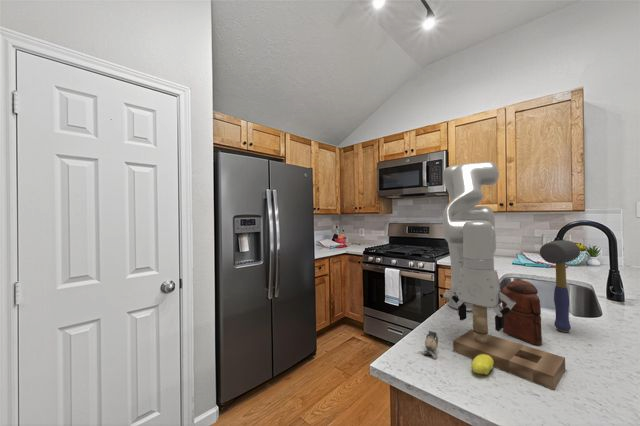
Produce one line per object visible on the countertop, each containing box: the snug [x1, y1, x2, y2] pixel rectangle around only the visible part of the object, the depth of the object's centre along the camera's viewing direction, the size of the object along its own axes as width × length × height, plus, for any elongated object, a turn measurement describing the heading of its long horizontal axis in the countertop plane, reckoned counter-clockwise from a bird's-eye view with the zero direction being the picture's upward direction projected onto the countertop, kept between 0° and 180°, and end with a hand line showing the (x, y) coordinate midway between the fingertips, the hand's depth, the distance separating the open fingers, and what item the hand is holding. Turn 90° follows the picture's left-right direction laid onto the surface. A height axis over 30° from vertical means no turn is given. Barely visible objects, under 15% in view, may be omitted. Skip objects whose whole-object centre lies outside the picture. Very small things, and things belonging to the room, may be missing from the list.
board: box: [452, 328, 566, 391], centre depth 71 cm, size 22×12×3 cm, turn 38°
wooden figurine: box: [501, 279, 543, 346], centre depth 83 cm, size 12×6×18 cm, turn 23°
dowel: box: [472, 304, 489, 343], centre depth 75 cm, size 4×4×11 cm
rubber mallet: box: [539, 239, 581, 333], centre depth 87 cm, size 12×8×30 cm, turn 119°
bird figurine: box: [417, 330, 441, 360], centre depth 75 cm, size 5×5×6 cm
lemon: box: [471, 354, 494, 376], centre depth 66 cm, size 4×8×4 cm, turn 123°
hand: (480, 324), depth 75 cm, fingers open, 9 cm apart
